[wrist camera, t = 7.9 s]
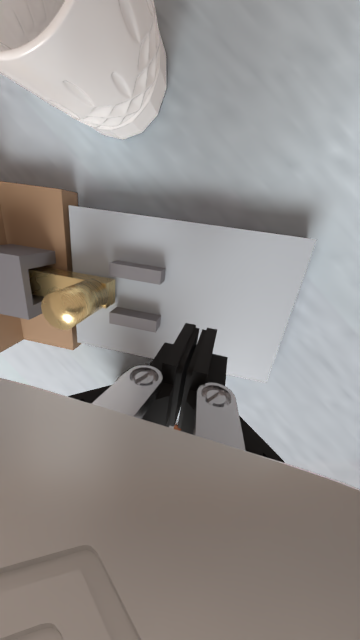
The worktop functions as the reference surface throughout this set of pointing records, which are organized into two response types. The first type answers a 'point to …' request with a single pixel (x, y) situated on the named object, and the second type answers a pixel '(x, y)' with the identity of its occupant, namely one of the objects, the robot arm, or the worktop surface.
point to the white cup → (88, 59)
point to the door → (149, 278)
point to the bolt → (70, 295)
